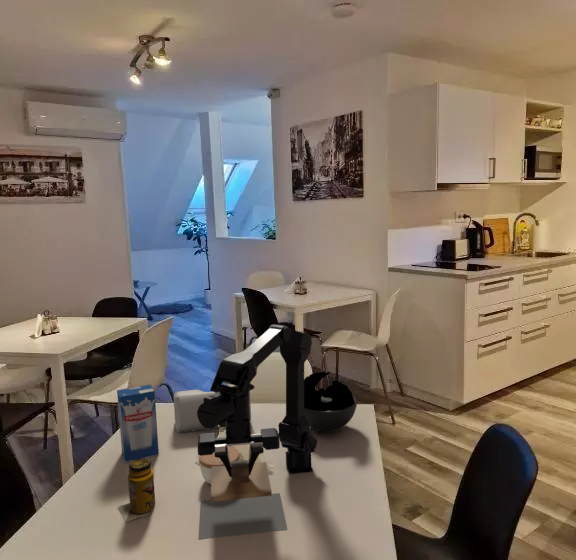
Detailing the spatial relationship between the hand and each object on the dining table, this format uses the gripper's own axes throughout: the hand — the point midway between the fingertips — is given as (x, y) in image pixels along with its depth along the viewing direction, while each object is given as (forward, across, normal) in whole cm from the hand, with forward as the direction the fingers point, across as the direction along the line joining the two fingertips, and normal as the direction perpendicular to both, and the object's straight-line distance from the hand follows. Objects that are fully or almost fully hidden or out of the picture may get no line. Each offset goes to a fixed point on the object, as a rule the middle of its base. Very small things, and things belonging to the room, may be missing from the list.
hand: (239, 475), depth 121 cm
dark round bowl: (+11, -30, -43) cm, 53 cm away
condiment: (+11, +25, -8) cm, 28 cm away
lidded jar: (+11, +5, -17) cm, 20 cm away
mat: (+11, 0, 0) cm, 11 cm away
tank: (+11, +7, -52) cm, 53 cm away
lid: (+2, 0, 0) cm, 2 cm away
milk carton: (+11, +29, -37) cm, 48 cm away
